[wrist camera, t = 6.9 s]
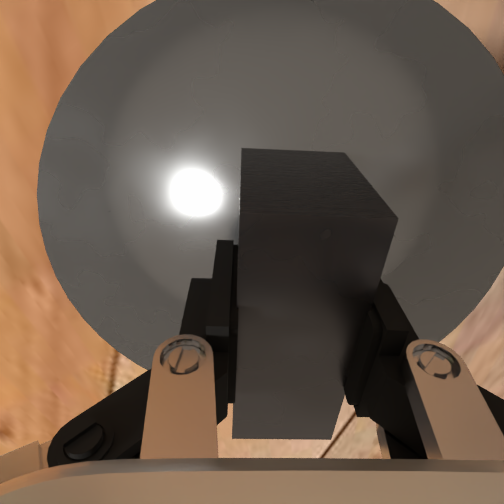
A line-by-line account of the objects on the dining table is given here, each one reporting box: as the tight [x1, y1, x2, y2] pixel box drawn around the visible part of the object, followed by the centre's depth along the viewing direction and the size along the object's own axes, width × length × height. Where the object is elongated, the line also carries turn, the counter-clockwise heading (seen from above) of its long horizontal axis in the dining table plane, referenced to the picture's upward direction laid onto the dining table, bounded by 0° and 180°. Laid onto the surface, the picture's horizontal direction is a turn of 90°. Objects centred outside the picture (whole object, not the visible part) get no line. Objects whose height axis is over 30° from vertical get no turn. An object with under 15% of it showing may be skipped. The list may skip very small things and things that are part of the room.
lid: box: [37, 0, 504, 440], centre depth 11 cm, size 17×17×5 cm
